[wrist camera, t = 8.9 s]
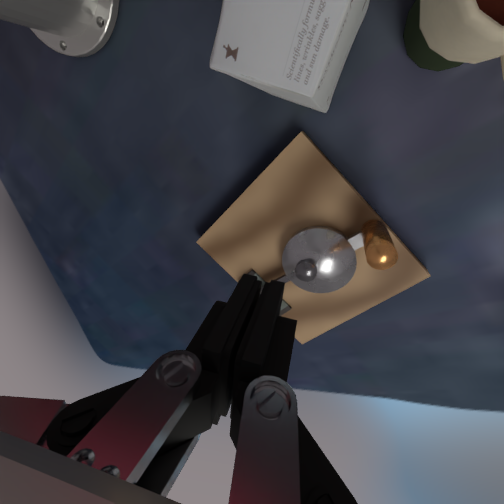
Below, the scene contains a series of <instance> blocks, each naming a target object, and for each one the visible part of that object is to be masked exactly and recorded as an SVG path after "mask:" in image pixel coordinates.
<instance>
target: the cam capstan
mask: <svg viewBox="0 0 504 504" xmlns="http://www.w3.org/2000/svg"><path fill="white" fill-rule="evenodd" d="M363 246H364V250H365V255H366V260H367V263H368V264H369V265H370V266H371V267H372V268H374V269H377V270H386V269H389V268H391V267H393V266H394V265H395V264H396V262H397V260H398V253H397V250H396V248H395V246H394V243H393V241H392V239H391V236H390V234H389V232H388V229H387V227H386V225H385V223H384V222H382V221H380V220H376V219H373V220H369V221H367V222H366V223H365V224H364V225H363V226H362V229H361V230H360V231H358V232H356V233H355V234H353V235H351V236H349V237H346V236H345V235H344V234H343V233H341V232H340V231H338V230H336V229H334V228H331V227H327V226H311V227H306V228H304V229H301V230H299V231H298V232H296V233H295V234H294V235H293V236H292V237H291V238H290V239H289V240H288V242H287V244H286V246H285V248H284V251H283V255H282V265H283V269H284V271H285V273H286V274H284V275H282V276H280V277H278V278H276V279H275V280H276V281H280V282H285V283H287V282H289V281H291V282H292V283H294V284H295V285H296V286H298V287H299V288H301V289H303V290H305V291H309V292H313V293H329V292H333V291H336V290H338V289H340V288H342V287H344V286H345V285H346V284H347V283H348V282H349V281H350V280H351V279H352V277H353V276H354V273H355V271H356V265H357V259H356V252H355V250H357V249H359V248H361V247H363ZM269 283H270V282H269ZM263 287H264V285H263V286H261V292H262V289H263ZM260 294H261V293H260Z"/></svg>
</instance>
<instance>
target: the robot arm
mask: <svg viewBox="0 0 504 504" xmlns="http://www.w3.org/2000/svg"><path fill="white" fill-rule="evenodd" d="M118 6H119V0H0V19H1V20H4V21H8V22H12V23H15V24H19V25H22V26H26V27H29V28H30V29H31V30H32V31H33V32H34V33H35V35H36V36H37V37H38V38H39V39H40V40H41V41H42V42H43V43H45V44H46V45H47V46H48V47H50V48H51V49H53V50H55V51H57V52H59V53H62V54H65V55H68V56H74V57H87V56H89V55H92V54H94V53H96V52H97V51H99V50H100V49H101V48H102V47H103V46H104V45H105V43H106V42H107V41H108V40H109V38H110V36H111V33H112V31H113V29H114V26H115V23H116V19H117V15H118ZM257 279H258V278H257V276H254V275H249V274H245V273H244V274H243V275H242V277H241V279H240V281H239V282H238V284H237V286H236V288H235V290H234V291H233V293H232V295H231V297H230V299H229V300H228V302H227V303H226V302H222V301H216V302H215V304H214V305H213V307H212V308H211V310H210V312H209V313H208V315H207V316H206V318H205V320H204V321H203V323H202V324H201V326H200V328H199V329H198V331H197V332H196V334H195V336H194V337H193V339H192V341H191V342H190V344H189V345H188V347H187V349H186V350H174V351H170V352H168V353H166V354H164V355H162V356H161V357H159V358H158V359H157V360H156V361H155V362H154V363H153V364H152V365H151V366H150V367H149V369H148V370H147V371H146V372H145V373H144V374H143V375H142V376H141V377H139V378H136V379H134V380H131V381H129V382H126V383H123V384H120V385H118V386H115V387H112V388H110V389H107V390H104V391H102V392H99V393H96V394H94V395H91V396H88V397H86V398H83V399H80V400H78V401H76V402H74V403H72V404H66V402H65V400H52V399H39V398H25V397H11V396H0V504H181V503H178V502H176V501H173V500H171V499H168V498H166V496H167V494H168V493H169V491H170V489H171V488H172V485H173V484H174V482H175V480H176V478H177V477H178V475H179V474H180V472H181V470H182V468H183V467H184V465H185V463H186V461H187V460H188V457H189V456H190V454H191V453H192V451H193V449H194V447H195V445H196V444H197V442H198V440H199V438H200V435H201V433H203V432H205V431H207V430H209V429H210V428H211V426H212V423H213V424H215V425H217V424H218V421H219V419H220V416H221V415H222V416H226V415H227V413H228V410H229V408H230V405H231V414H230V418H231V426H230V427H231V428H230V437H231V439H232V441H233V443H234V446H235V448H236V457H235V464H234V470H233V477H232V484H231V490H230V497H229V504H357V502H356V500H355V498H354V497H353V495H352V494H351V493H350V491H349V489H348V488H347V487H346V485H345V484H344V482H343V481H342V479H341V478H340V476H339V475H338V473H337V472H336V471H335V469H334V468H333V466H332V465H331V463H330V462H329V460H328V459H327V457H326V456H325V455H324V453H323V452H322V450H321V449H320V447H319V446H318V444H317V443H316V441H315V440H314V439H313V437H312V436H311V434H310V433H309V431H308V430H307V429H306V427H305V425H304V424H303V423H302V421H301V420H300V418H299V417H298V415H297V414H298V412H297V399H296V395H295V393H294V391H293V389H292V388H291V387H290V385H289V384H288V383H287V377H288V371H289V366H290V360H291V354H292V349H293V343H294V337H295V332H296V326H297V320H294V319H290V318H286V317H282V316H279V315H280V310H281V304H282V298H283V293H284V287H285V282H280V281H276V280H271V282H270V283H268V282H265V284H264V287H263V289H262V292H261V285H262V281H259V280H257ZM260 293H261V294H260Z"/></svg>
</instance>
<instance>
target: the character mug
mask: <svg viewBox="0 0 504 504" xmlns="http://www.w3.org/2000/svg"><path fill="white" fill-rule="evenodd" d="M403 37H404V42H405V47H406V51H407V55H408V56H409V57H410V58H411V59H412V60H413V61H414V62H415V63H416V64H417V65H418V66H419V67H420V68H425V69H429V70H434V71H441V70H445V69H449V68H453V67H457V66H460V65H461V64H463V63H464V62H465V63H473V64H476V63H479V62H483V61H487V60H490V59H494V58H497V57H501V65H502V74H503V80H504V0H416V1H415V2H414V4H413V6H412V7H411V9H410V11H409V12H408V17H407V21H406V26H405V30H404V35H403Z"/></svg>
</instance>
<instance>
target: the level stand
mask: <svg viewBox="0 0 504 504" xmlns="http://www.w3.org/2000/svg"><path fill="white" fill-rule="evenodd" d="M373 219H376V220H380V221H382V222H384V221H383V220H382V219H381V217H380V216H379V215H378V214H377V213H376V212H375V211H374V210H373V209H372V207H371V206H370V205H369V204H368V203H367V202H366V201H365V200H364V198H363V197H362V196H361V195H360V194H359V193H358V192H357V191H356V190H355V188H354V187H353V186H352V185H351V184H350V183H349V182H348V181H347V179H346V178H345V177H344V176H343V175H342V174H341V173H340V172H339V171H338V169H337V168H336V167H335V166H334V165H333V164H332V163H331V162H330V160H329V159H328V158H327V157H326V156H325V155H324V154H323V153H322V152H321V150H320V149H319V148H318V147H317V146H316V145H315V144H314V143H313V141H312V140H311V139H310V138H309V137H308V136H307V135H306V134H305V133H304V131H301V132H300V133H299V134H298V135H297V136H296V137H295V139H294V140H293V141H292V142H291V143H290V144H289V145H288V146H287V147H286V148H285V149H284V150H283V151H282V152H281V153H280V154H279V155H278V156H277V158H276V159H275V160H274V161H273V162H272V163H271V164H270V165H269V166H268V167H267V168H266V169H265V170H264V171H263V172H262V173H261V174H260V175H259V177H258V178H257V179H256V180H255V181H254V182H253V183H252V184H251V185H250V186H249V187H248V188H247V189H246V190H245V191H244V192H243V193H242V194H241V196H240V197H239V198H238V199H237V200H236V201H235V202H234V203H233V204H232V205H231V206H230V207H229V208H228V209H227V210H226V211H225V212H224V213H223V215H222V216H221V217H220V218H219V219H218V220H217V221H216V222H215V223H214V224H213V225H212V226H211V227H210V228H209V229H208V230H207V231H206V232H205V234H204V235H203V236H202V237H201V238H200V239H199V240H198V241H197V243H198V244H199V245H200V246H201V247H202V248H203V249H204V250H205V251H206V252H207V253H208V254H209V255H210V256H211V257H212V258H213V259H214V260H215V261H216V262H217V263H218V264H219V265H220V266H221V267H223V268H224V269H225V270H226V271H227V272H228V273H229V274H230V275H231V276H232V277H233V278H234V279H235V280H236V281H237V282H239V281H240V279H241V277H242V275H243V274H244V273H245V274H249V275H254V276H257V278H258V279H257V280H259V281H262V285H261V286H263V285H264V284H265V282H268V283H269V282H271V280H275V279H276V278H278V277H280V276H282V275H284V274H286V273H285V271H284V269H283V265H282V255H283V251H284V248H285V246H286V244H287V242H288V240H289V239H290V238H291V237H292V236H293V235H294V234H295V233H296V232H298V231H299V230H301V229H304V228H306V227H311V226H327V227H331V228H334V229H336V230H338V231H340V232H341V233H343V234H344V235H345V236H346V237H349V236H351V235H353V234H355V233H356V232H358V231H360V230H361V229H362V226H363V225H364V224H365V223H366V222H367V221H369V220H373ZM384 223H385V222H384ZM385 225H386V227H387V229H388V232H389V234H390V236H391V239H392V241H393V243H394V246H395V248H396V250H397V253H398V260H397V262H396V264H395V265H394V266H393V267H391V268H389V269H386V270H377V269H374V268H372V267H371V266H370V265H369V264H368V263H367V260H366V255H365V250H364V246H363V247H361V248H359V249H357V250H355V252H356V259H357V265H356V271H355V273H354V276H353V277H352V279H351V280H350V281H349V282H348V283H347V284H346V285H345V286H344V287H342V288H340V289H338V290H336V291H333V292H329V293H313V292H309V291H305V290H303V289H301V288H299V287H298V286H296V285H295V284H294V283H292V282H291V281H289V282H287V283H285V287H284V293H283V298H282V304H281V310H280V315H279V316H282V317H286V318H290V319H294V320H297V326H296V332H295V338H296V339H297V340H298V341H299V342H300V343H301V344H303V343H305V342H307V341H309V340H311V339H313V338H315V337H317V336H319V335H320V334H322V333H324V332H326V331H328V330H330V329H332V328H334V327H336V326H337V325H339V324H341V323H343V322H345V321H347V320H349V319H351V318H353V317H354V316H356V315H358V314H360V313H362V312H364V311H366V310H368V309H370V308H371V307H373V306H375V305H377V304H379V303H381V302H383V301H385V300H387V299H388V298H390V297H392V296H394V295H396V294H398V293H400V292H402V291H404V290H405V289H407V288H409V287H411V286H413V285H415V284H417V283H419V282H421V281H422V280H424V279H426V278H428V277H430V274H429V272H428V270H427V269H426V268H425V267H424V266H423V264H422V263H421V262H420V261H419V260H418V259H417V258H416V257H415V255H414V254H413V253H412V252H411V251H410V250H409V249H408V248H407V247H406V245H405V244H404V243H403V242H402V241H401V240H400V239H399V238H398V236H397V235H396V234H395V233H394V232H393V231H392V230H391V229H390V228H389V226H388V225H387V224H386V223H385Z"/></svg>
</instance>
